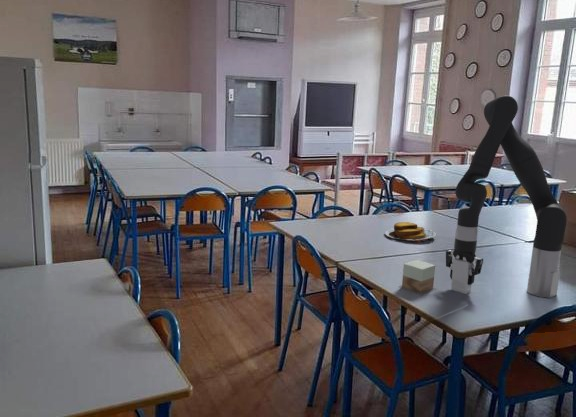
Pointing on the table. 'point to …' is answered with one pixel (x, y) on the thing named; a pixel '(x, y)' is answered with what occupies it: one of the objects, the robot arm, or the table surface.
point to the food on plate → (409, 232)
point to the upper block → (419, 270)
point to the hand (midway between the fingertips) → (461, 281)
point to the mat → (417, 292)
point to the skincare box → (460, 276)
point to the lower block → (417, 284)
